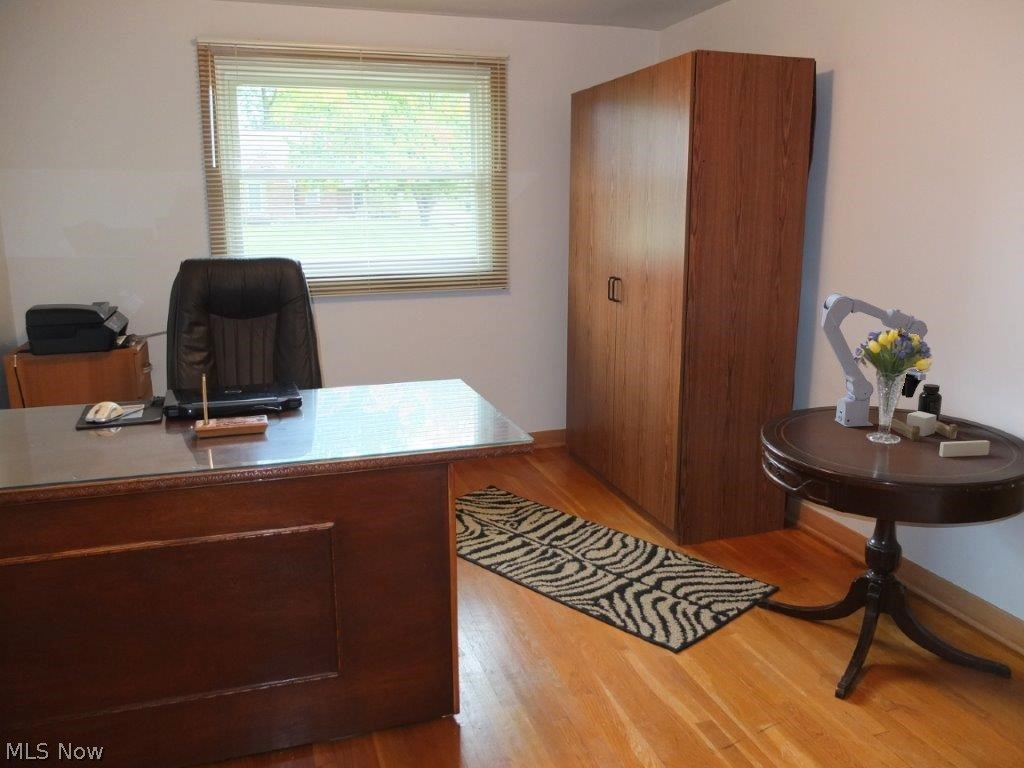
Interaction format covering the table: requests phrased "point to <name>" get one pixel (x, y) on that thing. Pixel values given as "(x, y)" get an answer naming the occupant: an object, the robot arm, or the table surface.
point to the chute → (914, 432)
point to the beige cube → (922, 422)
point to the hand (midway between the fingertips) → (907, 396)
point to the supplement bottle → (930, 400)
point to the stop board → (964, 448)
